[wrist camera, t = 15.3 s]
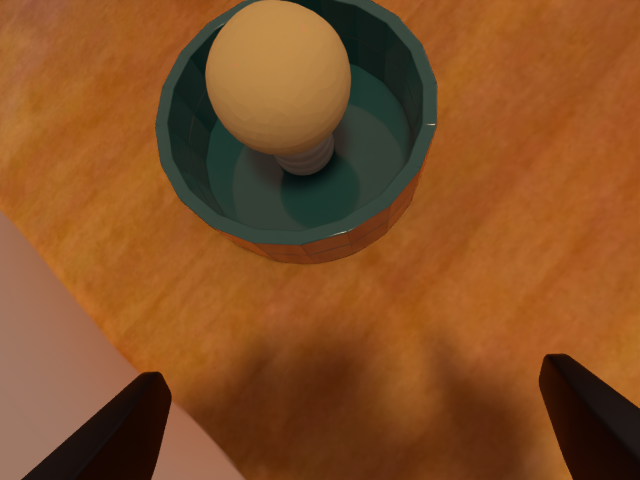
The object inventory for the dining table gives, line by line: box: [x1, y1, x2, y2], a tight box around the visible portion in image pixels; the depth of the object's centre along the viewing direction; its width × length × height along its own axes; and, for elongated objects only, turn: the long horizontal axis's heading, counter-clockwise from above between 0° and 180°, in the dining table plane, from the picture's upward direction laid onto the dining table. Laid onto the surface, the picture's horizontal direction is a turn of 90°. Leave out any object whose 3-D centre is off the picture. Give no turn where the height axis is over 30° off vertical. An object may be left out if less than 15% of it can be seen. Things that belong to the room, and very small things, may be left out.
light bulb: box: [205, 0, 351, 175], centre depth 19 cm, size 6×6×10 cm
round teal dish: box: [155, 0, 437, 264], centre depth 22 cm, size 14×14×6 cm
